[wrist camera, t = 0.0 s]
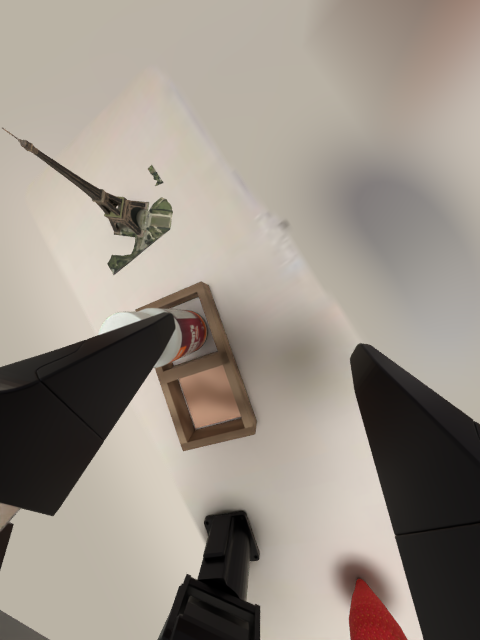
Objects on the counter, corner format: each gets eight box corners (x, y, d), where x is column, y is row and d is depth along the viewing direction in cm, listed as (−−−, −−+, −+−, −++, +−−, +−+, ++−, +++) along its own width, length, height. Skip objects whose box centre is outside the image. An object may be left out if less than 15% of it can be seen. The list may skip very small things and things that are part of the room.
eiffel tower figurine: (116, 277, 27) (-24, 242, 14) (87, 228, 28) (-72, 151, 15) (187, 218, 25) (97, 111, 12) (153, 166, 26) (33, 11, 13)
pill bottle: (202, 356, 25) (147, 391, 14) (165, 345, 26) (85, 367, 15) (212, 316, 24) (164, 316, 13) (174, 305, 25) (99, 297, 14)
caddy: (256, 421, 24) (255, 434, 21) (191, 438, 25) (182, 451, 23) (208, 285, 24) (201, 281, 22) (147, 310, 26) (135, 309, 24)
